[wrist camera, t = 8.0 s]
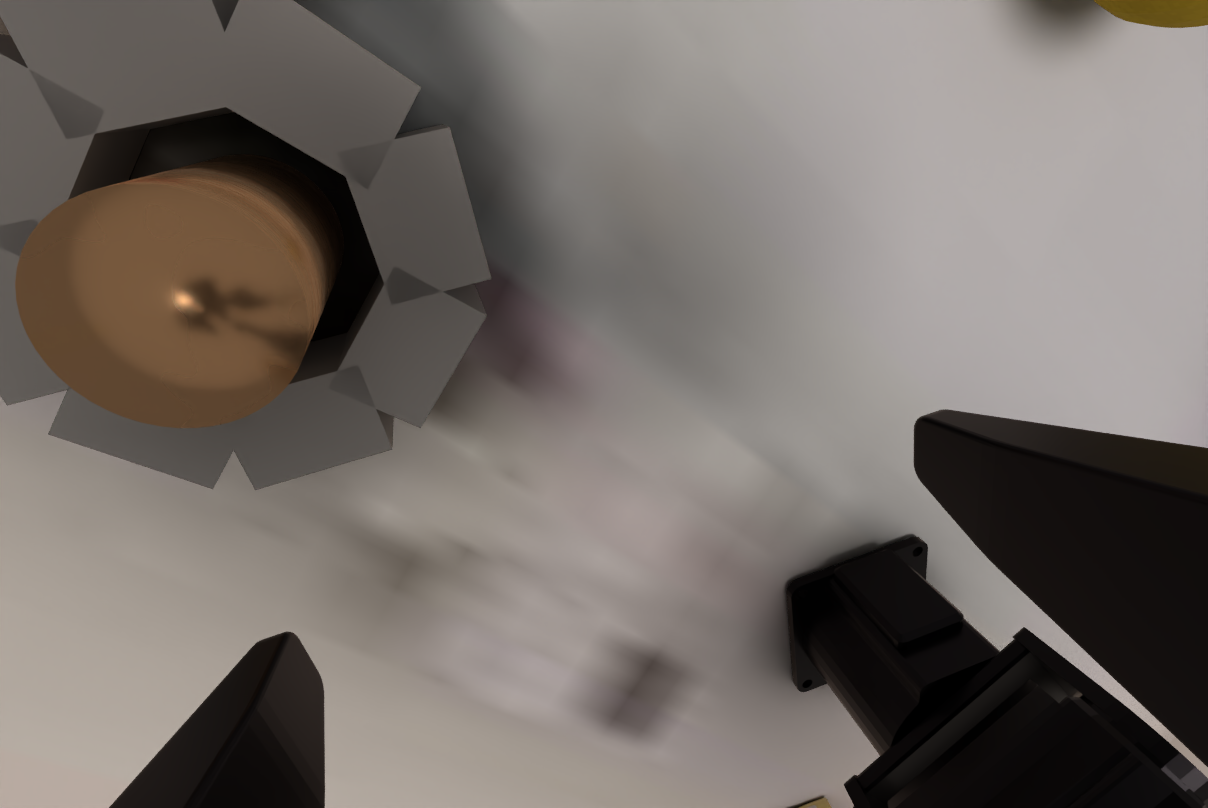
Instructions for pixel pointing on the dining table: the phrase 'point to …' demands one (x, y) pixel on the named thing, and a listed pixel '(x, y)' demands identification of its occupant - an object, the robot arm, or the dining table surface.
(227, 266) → the pipe stub
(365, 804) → the dining table surface
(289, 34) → the valve fitting
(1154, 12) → the lemon
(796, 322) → the dining table surface
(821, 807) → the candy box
